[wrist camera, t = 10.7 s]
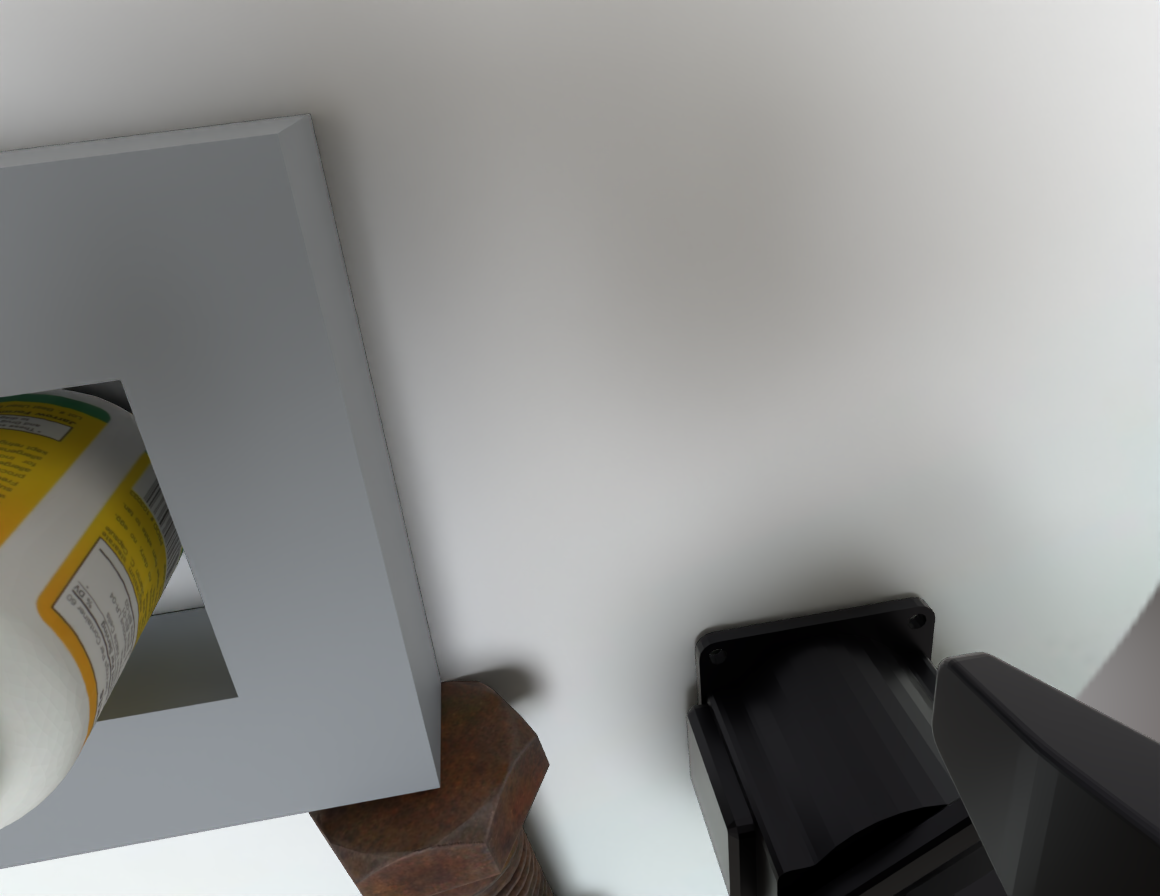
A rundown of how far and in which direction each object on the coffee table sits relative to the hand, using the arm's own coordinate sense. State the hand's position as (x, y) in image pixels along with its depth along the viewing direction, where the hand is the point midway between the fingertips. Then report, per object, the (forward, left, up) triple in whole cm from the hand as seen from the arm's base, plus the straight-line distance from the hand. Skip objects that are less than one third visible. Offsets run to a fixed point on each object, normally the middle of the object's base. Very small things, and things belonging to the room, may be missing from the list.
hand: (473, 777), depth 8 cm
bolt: (+2, +17, -12) cm, 21 cm away
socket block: (+9, +2, -12) cm, 15 cm away
